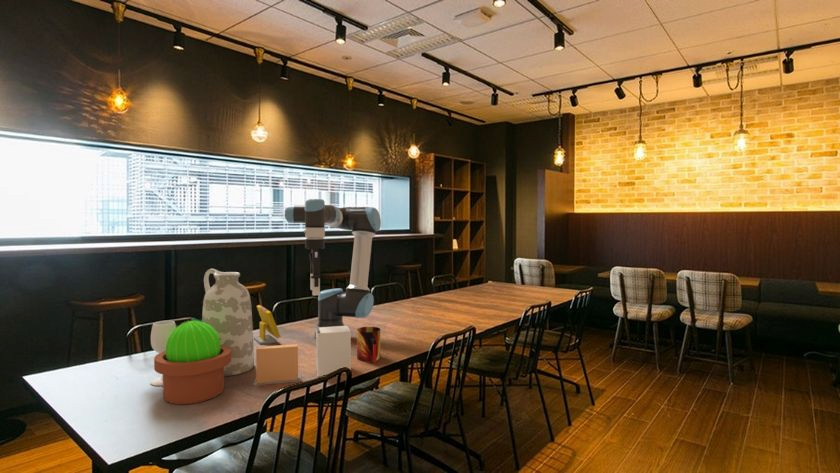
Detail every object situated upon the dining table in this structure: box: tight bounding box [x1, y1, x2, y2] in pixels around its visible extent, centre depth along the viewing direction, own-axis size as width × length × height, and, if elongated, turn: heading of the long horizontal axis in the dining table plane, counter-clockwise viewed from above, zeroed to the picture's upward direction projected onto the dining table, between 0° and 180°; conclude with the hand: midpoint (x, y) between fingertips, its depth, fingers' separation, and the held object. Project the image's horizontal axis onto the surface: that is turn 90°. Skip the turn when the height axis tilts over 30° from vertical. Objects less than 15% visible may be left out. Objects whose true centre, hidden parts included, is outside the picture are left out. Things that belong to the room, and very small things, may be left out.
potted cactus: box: [153, 318, 231, 405], centre depth 147 cm, size 22×22×25 cm
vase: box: [201, 268, 255, 377], centre depth 172 cm, size 20×19×38 cm
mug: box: [356, 326, 381, 363], centre depth 185 cm, size 10×14×12 cm
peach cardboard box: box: [255, 343, 299, 383], centre depth 160 cm, size 3×14×12 cm, turn 107°
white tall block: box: [315, 325, 352, 378], centre depth 170 cm, size 9×12×17 cm
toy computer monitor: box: [253, 304, 281, 345], centre depth 211 cm, size 20×8×16 cm, turn 34°
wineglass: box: [150, 320, 177, 387], centre depth 158 cm, size 9×9×21 cm
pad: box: [253, 374, 302, 387], centre depth 160 cm, size 6×16×1 cm, turn 107°
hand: (314, 292), depth 177 cm, fingers open, 13 cm apart
